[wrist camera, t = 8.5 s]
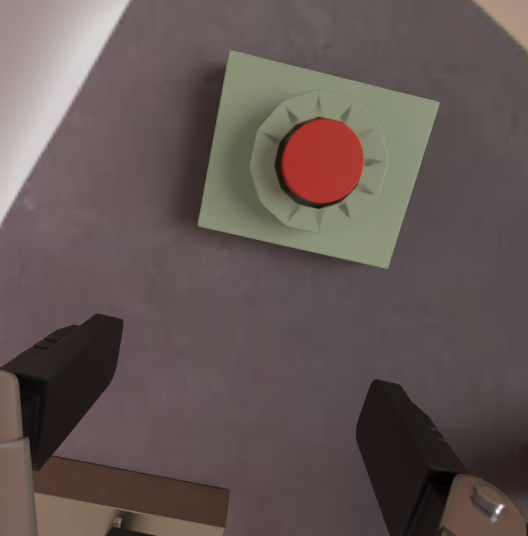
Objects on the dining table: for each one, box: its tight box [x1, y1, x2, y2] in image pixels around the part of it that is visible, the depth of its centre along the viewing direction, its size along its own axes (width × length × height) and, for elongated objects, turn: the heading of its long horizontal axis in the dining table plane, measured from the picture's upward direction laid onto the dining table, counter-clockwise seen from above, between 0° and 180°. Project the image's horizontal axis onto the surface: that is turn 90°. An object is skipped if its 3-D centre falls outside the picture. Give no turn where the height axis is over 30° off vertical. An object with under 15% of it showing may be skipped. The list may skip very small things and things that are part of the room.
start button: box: [281, 119, 364, 203], centre depth 16 cm, size 4×4×2 cm
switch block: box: [197, 50, 439, 269], centre depth 18 cm, size 11×9×4 cm
